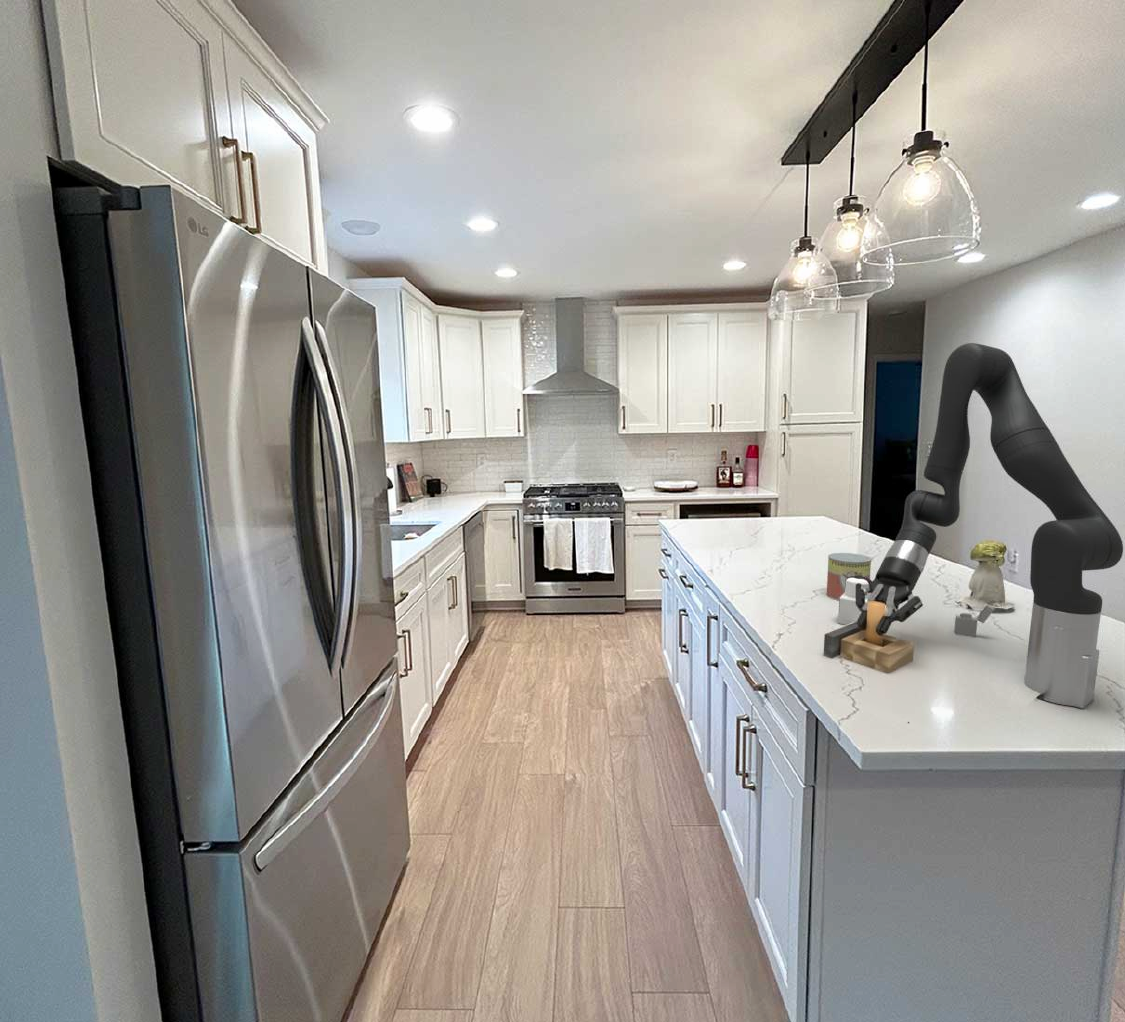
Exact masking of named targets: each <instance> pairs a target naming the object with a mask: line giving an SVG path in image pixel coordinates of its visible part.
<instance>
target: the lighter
mask: <svg viewBox="0 0 1125 1022" xmlns="http://www.w3.org/2000/svg"><path fill="white" fill-rule="evenodd" d="M994 611H995V608H994V607H992V606H990V605H988V604H987V605H986V607H985V608H984V609H983V610H982V611H980V612H979V614H978V616H977V617H972V616H973V614H972V613H967V612H962V613H959V615H957V614H956V615H955V618H954V620H955V621H954V628H953V629H954V631H953V633H955V634H956V635H957V636H962V635H964V637H969V636H970V638H977V630H978V622H981V623H982V624H984V623H985V622H986V621H987V620H988V618H989V617H990V616H991V615H992V613H993V612H994ZM955 634H954V635H955Z"/></svg>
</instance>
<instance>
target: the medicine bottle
mask: <svg viewBox="0 0 1125 1022" xmlns="http://www.w3.org/2000/svg"><path fill="white" fill-rule="evenodd" d="M872 581H873V580H872V579H871V578H870V579H868V578H866V577H862V576H850V577H847V578H846V579H845V593H844V594H843V595H842V596H841V597H840V598H839V601H838V614H837V615H838V616H837V617H838V618H837V619H838V620H837V622H838V623H837V624H839V625H844V626H847V625H849V624H852V623H854V622H857V620H858V618H859V616H860V614H861V611H860V610H859V609H858V607H857V606H856V584H857V583H860V584H861V585H869V584H870V583H871V582H872ZM870 595H871V591H868V594H867V595H865V604H866V602H867V601H868V598H869V596H870Z"/></svg>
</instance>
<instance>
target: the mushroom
mask: <svg viewBox="0 0 1125 1022" xmlns="http://www.w3.org/2000/svg"><path fill="white" fill-rule="evenodd" d="M1007 550H1008V549H1007V545H1006V544H1005V543H1004V542H999V541H994V540H984V541H981V542H979V543H977V544H976V545H975V546H974V547H973V548H972V549H971V552H970V560H971V561H975V562H978V565H976V567H975V570H974V571H973V573H972V575H971V577H970V579H969V582H968V589H969V590H970V591H971V592H970V595H969V596H961V595H959V593H957V594H956V596H957V597H956V598H955V602H956V603H959V604H960V605H961V607H962V608H964V607H965V608H966V609H967V608H969V607H970V608H971V610H973V611H975V612H976V611H977V612H982V610H983V609H984V608H985V607H986V605H987V604H988V605H990V606H992V607H994V609H1004V610H1005V611H1007V610H1009V609H1012V608H1013V609H1014V610H1015V603H1014V602H1010V601H1009V602H1007V601H1006V593H1005V592H1006V589H1005V582H1004V576H1003V575H1004V573H1003V572H1002V569H1001V568H1000V567H1002V566H1003V565H1004V564H1005V554H1006V552H1007Z"/></svg>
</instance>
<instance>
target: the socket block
mask: <svg viewBox="0 0 1125 1022" xmlns="http://www.w3.org/2000/svg"><path fill="white" fill-rule="evenodd" d="M865 640H866V629H865V630H864V631H863V630H862V631H860V632H858V633H855V634H853V635H850V636H848V637H846V638H843V639H841V654H840V655H839V657H840V658H843V659H846V660H848V661H850V662H854V663H857V664H861V665H863V666H866V667H869V668H871V669H875V670H877V671H879V672H880V671H881V672H882V673H886V674H890V673H892V672H894V671H896V670H898V669H899V668H902V667H903V666H906V665H907V664H909V663H911V662H913V661H914V659H913V658H914V646H915V642H912V641H909V640H905V639H902V638H898V637H896V636H891V635H888V634H883V644H882V647H881V646H878V645H874V644H871V643H868V642H865Z"/></svg>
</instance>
